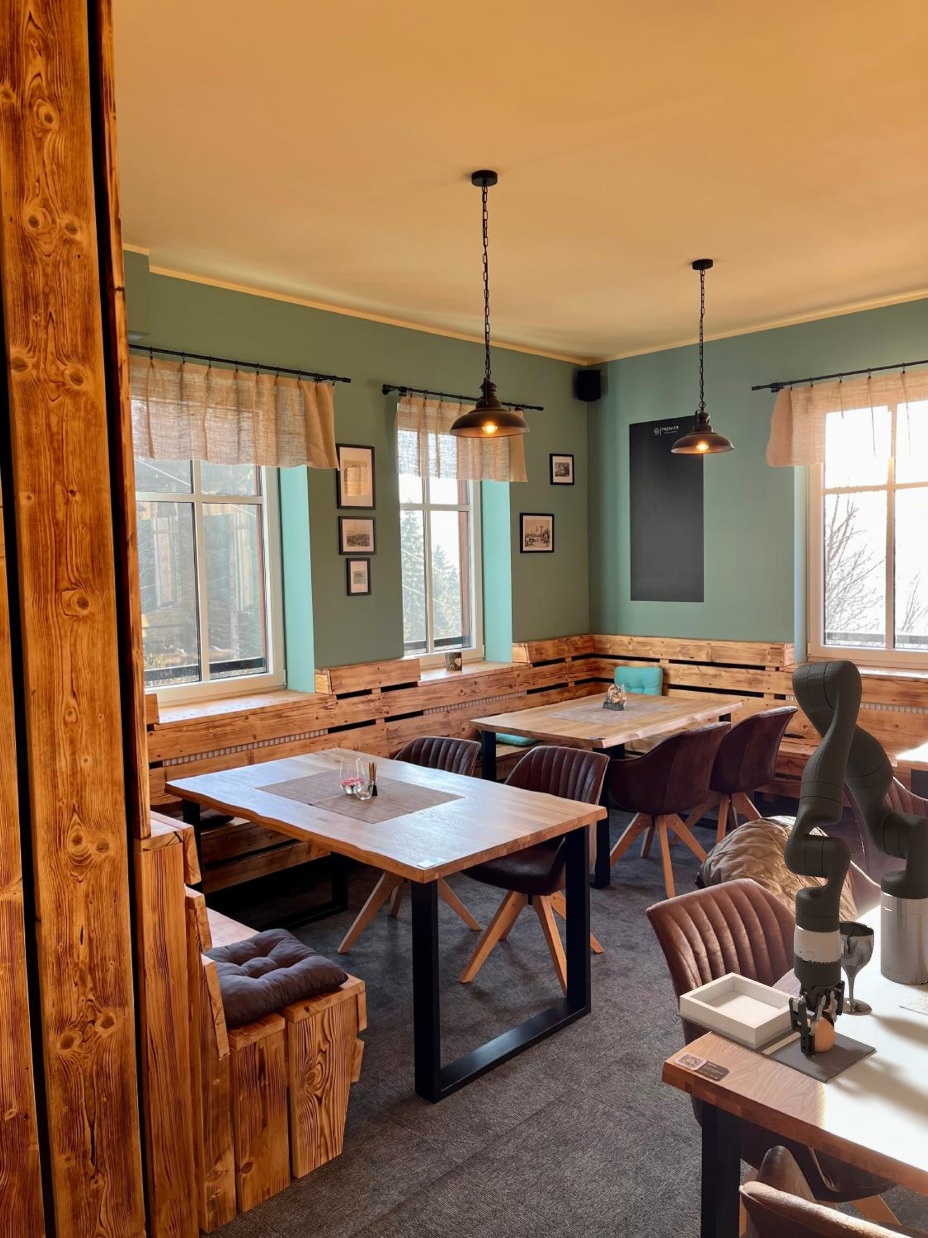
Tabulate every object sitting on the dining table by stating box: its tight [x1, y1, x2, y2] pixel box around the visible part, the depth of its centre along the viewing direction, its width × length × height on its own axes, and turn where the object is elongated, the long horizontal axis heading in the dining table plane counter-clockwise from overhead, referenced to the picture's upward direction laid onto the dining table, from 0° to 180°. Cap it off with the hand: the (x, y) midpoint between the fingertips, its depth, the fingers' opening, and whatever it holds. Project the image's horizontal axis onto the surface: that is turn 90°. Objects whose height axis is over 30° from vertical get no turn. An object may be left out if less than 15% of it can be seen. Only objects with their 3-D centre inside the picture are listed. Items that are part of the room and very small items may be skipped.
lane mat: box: [675, 1011, 876, 1084], centre depth 163 cm, size 16×30×1 cm, turn 38°
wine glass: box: [835, 920, 875, 1016], centre depth 172 cm, size 8×8×15 cm
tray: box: [679, 972, 799, 1049], centre depth 168 cm, size 16×16×4 cm
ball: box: [807, 1017, 836, 1052], centre depth 156 cm, size 6×6×6 cm
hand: (817, 1048), depth 156 cm, fingers closed on ball, 5 cm apart
